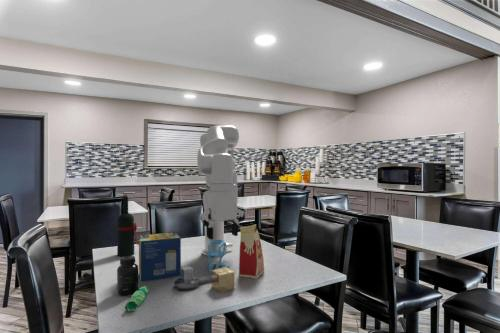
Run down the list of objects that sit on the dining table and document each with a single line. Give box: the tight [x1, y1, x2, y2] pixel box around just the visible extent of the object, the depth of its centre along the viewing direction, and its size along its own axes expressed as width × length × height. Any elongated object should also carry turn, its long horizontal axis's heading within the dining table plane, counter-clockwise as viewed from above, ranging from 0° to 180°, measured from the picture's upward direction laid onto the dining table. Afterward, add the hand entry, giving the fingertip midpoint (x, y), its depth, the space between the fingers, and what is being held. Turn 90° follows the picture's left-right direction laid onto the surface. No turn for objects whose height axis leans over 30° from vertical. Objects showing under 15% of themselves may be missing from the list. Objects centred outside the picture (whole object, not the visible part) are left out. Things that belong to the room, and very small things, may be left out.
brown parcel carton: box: [211, 267, 236, 294], centre depth 106 cm, size 6×6×6 cm
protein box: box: [138, 231, 182, 283], centre depth 120 cm, size 10×15×16 cm
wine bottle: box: [116, 193, 139, 258], centre depth 148 cm, size 8×10×30 cm
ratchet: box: [173, 265, 212, 292], centre depth 112 cm, size 23×9×6 cm, turn 123°
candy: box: [124, 285, 150, 313], centre depth 95 cm, size 12×3×4 cm
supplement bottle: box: [116, 255, 140, 297], centre depth 103 cm, size 7×7×12 cm
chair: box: [205, 240, 230, 273], centre depth 126 cm, size 8×8×12 cm
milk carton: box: [238, 224, 265, 280], centre depth 121 cm, size 9×9×20 cm
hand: (222, 236), depth 106 cm, fingers open, 9 cm apart
